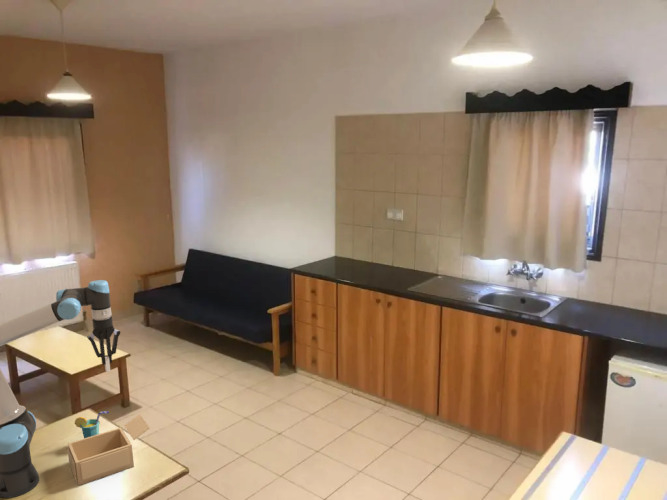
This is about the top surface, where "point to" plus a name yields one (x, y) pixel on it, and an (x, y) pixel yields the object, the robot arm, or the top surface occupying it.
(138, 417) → the flap
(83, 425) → the cup
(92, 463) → the open wooden box
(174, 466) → the top surface
